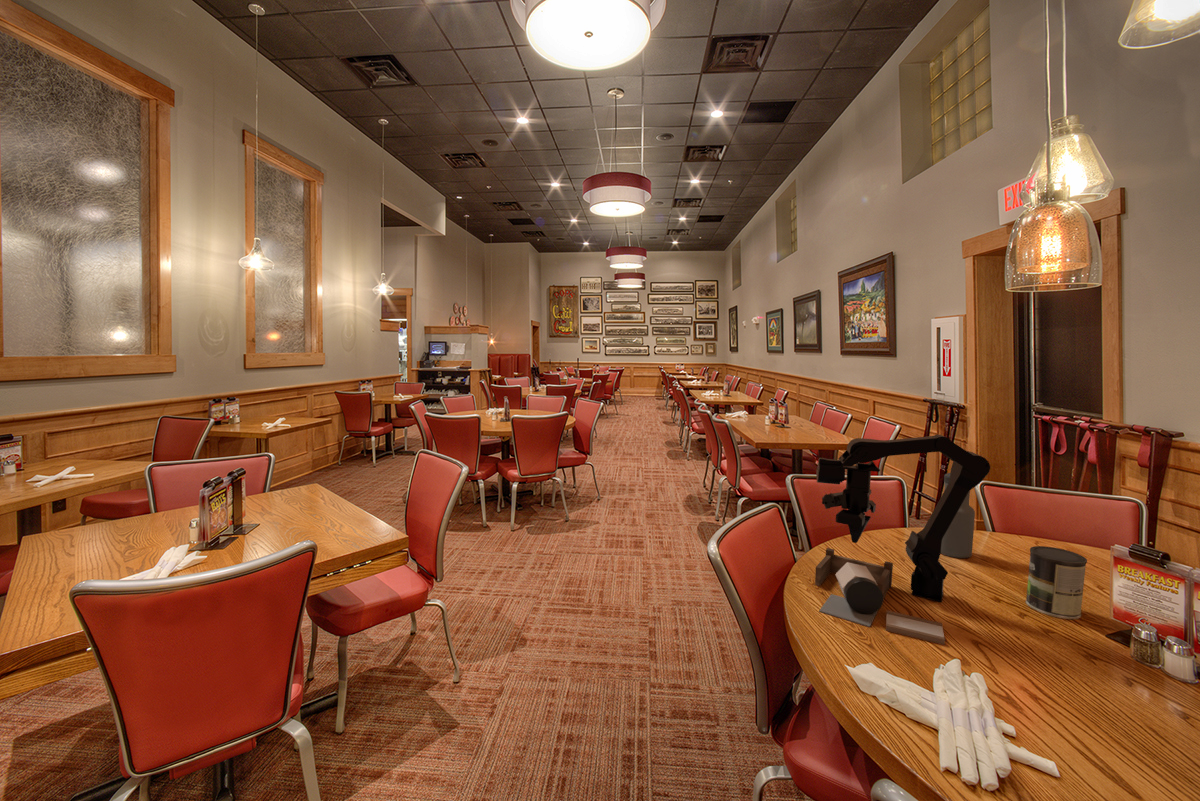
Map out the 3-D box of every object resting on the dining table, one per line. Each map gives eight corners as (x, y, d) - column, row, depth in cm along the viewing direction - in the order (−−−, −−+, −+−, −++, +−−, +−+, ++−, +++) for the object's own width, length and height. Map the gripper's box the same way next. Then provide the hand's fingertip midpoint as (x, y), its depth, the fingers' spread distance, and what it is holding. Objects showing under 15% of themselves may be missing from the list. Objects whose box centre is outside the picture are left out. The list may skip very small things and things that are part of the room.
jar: (854, 601, 130) (865, 622, 119) (828, 579, 132) (837, 598, 120) (879, 577, 129) (893, 597, 117) (852, 555, 130) (863, 572, 118)
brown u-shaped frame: (891, 585, 135) (892, 562, 134) (882, 603, 125) (884, 579, 124) (826, 569, 145) (827, 547, 145) (813, 584, 135) (814, 561, 135)
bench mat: (878, 608, 122) (878, 607, 122) (869, 627, 114) (869, 625, 114) (831, 595, 129) (831, 594, 129) (819, 611, 121) (819, 610, 121)
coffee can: (1023, 608, 123) (1027, 553, 122) (1027, 594, 130) (1032, 542, 129) (1081, 624, 116) (1086, 566, 114) (1082, 609, 123) (1087, 554, 122)
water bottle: (934, 544, 165) (940, 461, 163) (971, 551, 160) (977, 465, 157) (933, 554, 157) (939, 467, 155) (972, 561, 151) (978, 471, 149)
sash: (941, 627, 114) (942, 622, 114) (944, 645, 107) (945, 639, 107) (886, 614, 119) (886, 610, 119) (885, 630, 113) (886, 625, 112)
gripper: (834, 475, 146) (831, 526, 147) (816, 487, 131) (813, 545, 132) (877, 481, 139) (874, 535, 140) (863, 495, 124) (859, 555, 125)
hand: (854, 542), depth 135 cm, fingers closed
